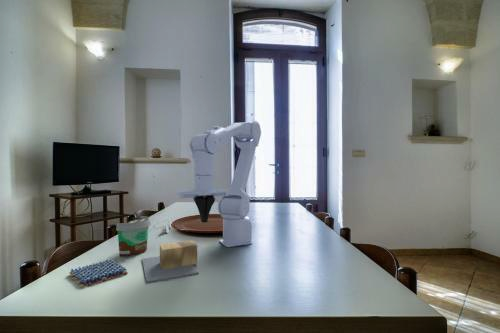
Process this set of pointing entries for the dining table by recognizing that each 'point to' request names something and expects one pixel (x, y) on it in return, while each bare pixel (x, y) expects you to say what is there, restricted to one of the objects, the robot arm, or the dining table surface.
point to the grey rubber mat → (164, 270)
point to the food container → (133, 236)
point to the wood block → (178, 254)
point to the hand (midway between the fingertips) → (204, 221)
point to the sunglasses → (166, 225)
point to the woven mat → (97, 273)
